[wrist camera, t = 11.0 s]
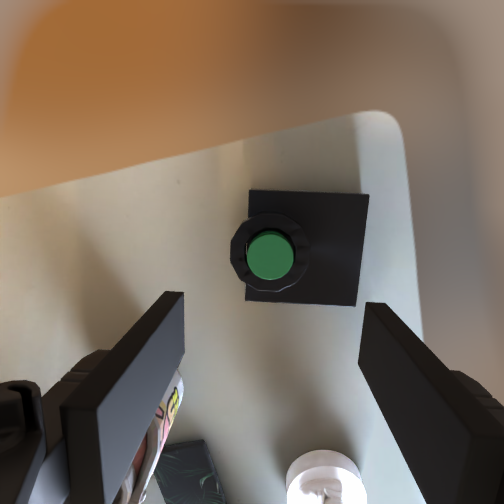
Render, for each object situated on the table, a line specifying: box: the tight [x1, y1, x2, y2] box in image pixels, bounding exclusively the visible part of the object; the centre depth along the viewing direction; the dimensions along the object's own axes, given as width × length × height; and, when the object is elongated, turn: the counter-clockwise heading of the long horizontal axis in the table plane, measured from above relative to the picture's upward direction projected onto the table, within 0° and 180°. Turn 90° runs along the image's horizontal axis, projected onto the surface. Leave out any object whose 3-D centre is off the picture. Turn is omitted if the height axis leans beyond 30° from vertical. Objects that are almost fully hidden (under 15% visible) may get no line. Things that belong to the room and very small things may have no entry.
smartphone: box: [153, 440, 227, 504], centre depth 36 cm, size 7×1×15 cm
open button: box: [247, 231, 293, 280], centre depth 25 cm, size 4×4×2 cm
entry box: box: [230, 189, 369, 307], centre depth 27 cm, size 10×11×4 cm
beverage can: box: [63, 370, 184, 504], centre depth 27 cm, size 9×8×12 cm
